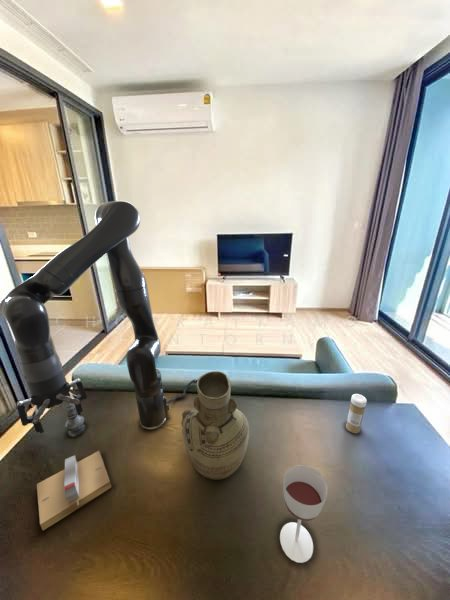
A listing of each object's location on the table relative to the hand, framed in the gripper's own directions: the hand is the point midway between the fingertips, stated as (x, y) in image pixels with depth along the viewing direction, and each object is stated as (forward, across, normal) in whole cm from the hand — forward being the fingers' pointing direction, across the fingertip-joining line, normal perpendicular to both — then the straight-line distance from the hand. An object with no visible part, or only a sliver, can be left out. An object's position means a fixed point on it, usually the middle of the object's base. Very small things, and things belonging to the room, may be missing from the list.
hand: (61, 421), depth 67 cm
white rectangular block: (+17, +2, +4) cm, 18 cm away
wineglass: (+21, -35, +51) cm, 66 cm away
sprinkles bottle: (+22, -77, +46) cm, 92 cm away
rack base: (+20, +2, +4) cm, 20 cm away
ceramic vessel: (+21, -34, +23) cm, 46 cm away
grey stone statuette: (+20, -3, -18) cm, 27 cm away
